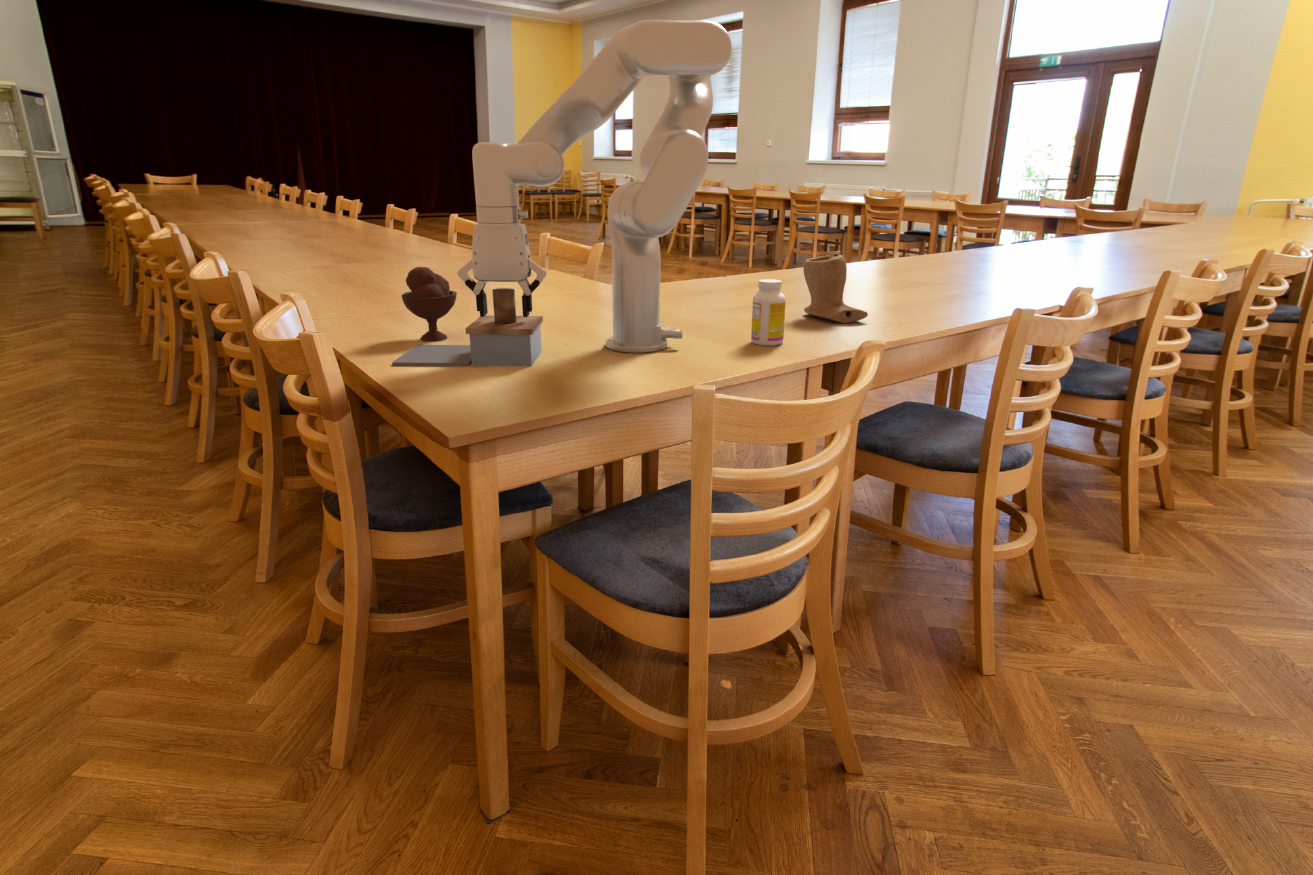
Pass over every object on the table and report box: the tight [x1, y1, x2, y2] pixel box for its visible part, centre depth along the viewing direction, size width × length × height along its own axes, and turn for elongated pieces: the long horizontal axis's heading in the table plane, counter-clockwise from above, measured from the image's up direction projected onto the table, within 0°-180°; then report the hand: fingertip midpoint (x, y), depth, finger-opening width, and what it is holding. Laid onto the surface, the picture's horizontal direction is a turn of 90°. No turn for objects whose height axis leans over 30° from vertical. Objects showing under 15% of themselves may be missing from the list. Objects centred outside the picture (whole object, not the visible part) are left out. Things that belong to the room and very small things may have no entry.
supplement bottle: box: [750, 278, 786, 347], centre depth 152 cm, size 7×7×13 cm
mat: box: [391, 344, 472, 367], centre depth 142 cm, size 14×14×1 cm
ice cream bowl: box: [400, 266, 458, 342], centre depth 154 cm, size 11×11×15 cm
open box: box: [468, 325, 543, 367], centre depth 140 cm, size 11×11×6 cm
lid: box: [465, 287, 544, 335], centre depth 138 cm, size 12×12×7 cm
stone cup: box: [803, 254, 869, 324], centre depth 176 cm, size 15×12×15 cm
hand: (505, 314), depth 138 cm, fingers open, 7 cm apart
